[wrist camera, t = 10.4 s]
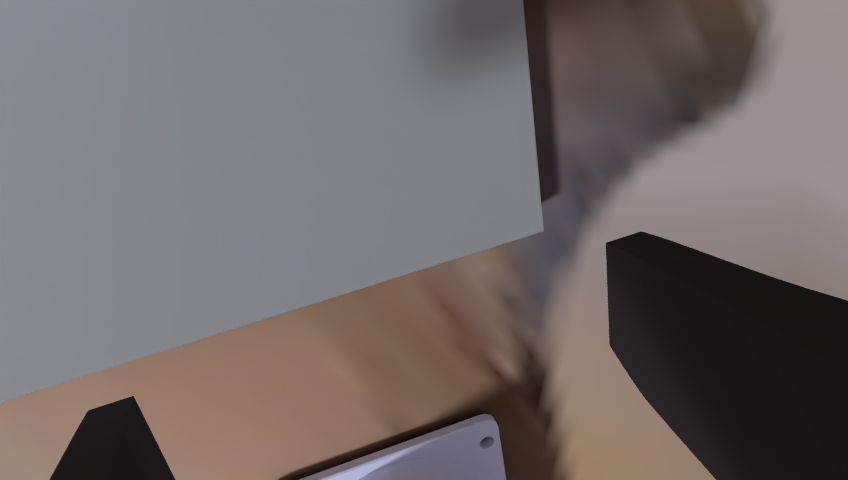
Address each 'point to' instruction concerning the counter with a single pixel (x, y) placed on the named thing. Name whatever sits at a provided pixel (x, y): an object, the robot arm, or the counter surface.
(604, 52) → the counter surface
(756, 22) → the counter surface
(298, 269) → the base plate
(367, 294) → the counter surface
